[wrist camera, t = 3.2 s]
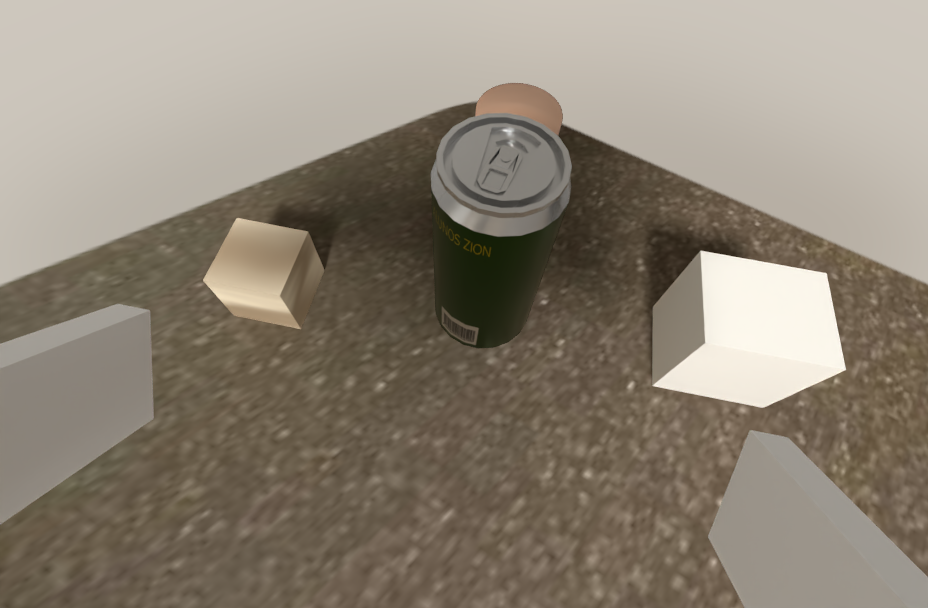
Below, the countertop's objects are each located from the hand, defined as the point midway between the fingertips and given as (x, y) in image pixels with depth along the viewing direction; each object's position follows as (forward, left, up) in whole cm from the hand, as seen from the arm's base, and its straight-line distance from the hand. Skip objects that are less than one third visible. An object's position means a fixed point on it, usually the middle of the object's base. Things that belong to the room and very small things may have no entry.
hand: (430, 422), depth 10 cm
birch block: (+14, +4, -14) cm, 20 cm away
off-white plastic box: (+1, -17, -14) cm, 22 cm away
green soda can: (+8, -6, -14) cm, 18 cm away
